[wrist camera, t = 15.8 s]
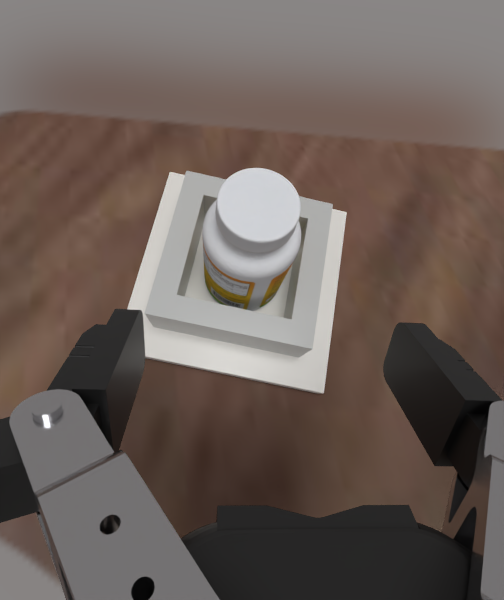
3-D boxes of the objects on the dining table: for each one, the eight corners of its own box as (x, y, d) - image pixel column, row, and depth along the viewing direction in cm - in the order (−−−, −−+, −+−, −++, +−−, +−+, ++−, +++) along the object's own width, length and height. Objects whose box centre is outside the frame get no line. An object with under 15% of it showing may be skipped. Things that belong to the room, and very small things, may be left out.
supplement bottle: (269, 237, 27) (298, 147, 18) (287, 305, 26) (330, 244, 17) (197, 249, 27) (190, 161, 17) (212, 321, 25) (214, 266, 16)
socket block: (342, 218, 30) (364, 186, 26) (319, 394, 25) (341, 390, 21) (171, 179, 29) (164, 139, 25) (118, 352, 25) (99, 339, 21)
